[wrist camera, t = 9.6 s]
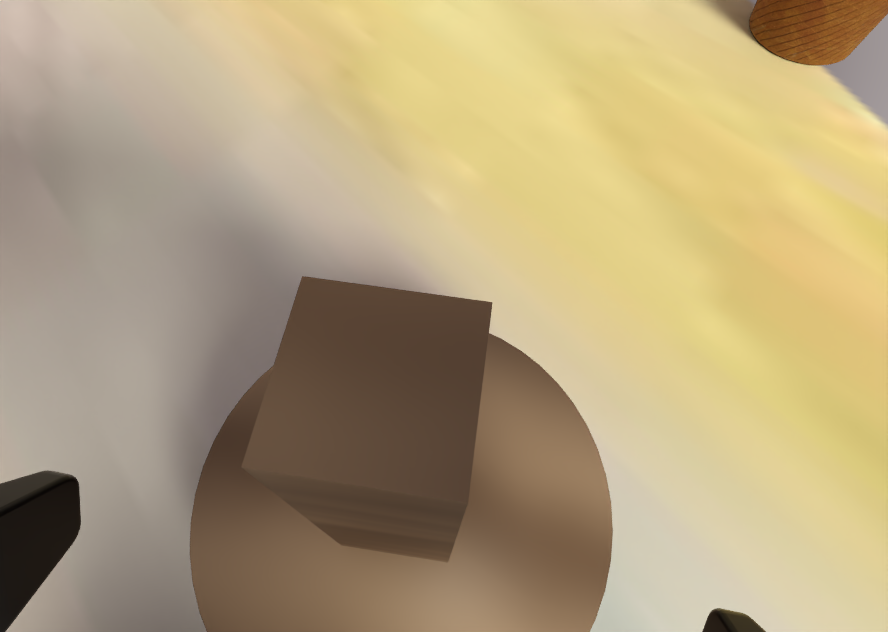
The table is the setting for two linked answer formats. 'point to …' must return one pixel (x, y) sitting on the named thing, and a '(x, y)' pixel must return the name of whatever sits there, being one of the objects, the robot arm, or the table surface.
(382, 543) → the walnut lid
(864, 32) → the disposable coffee cup
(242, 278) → the table surface
